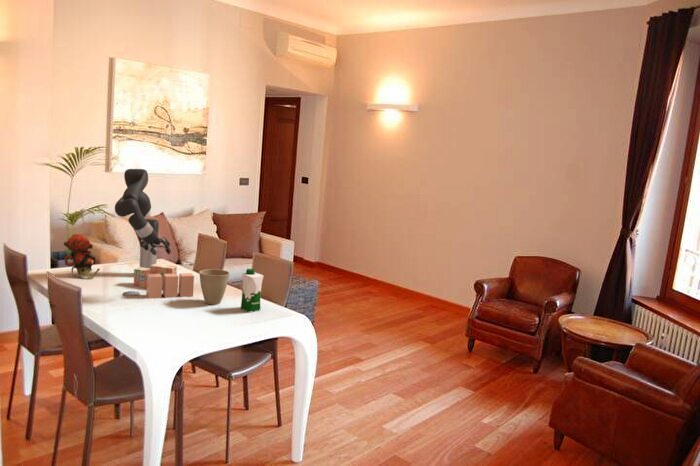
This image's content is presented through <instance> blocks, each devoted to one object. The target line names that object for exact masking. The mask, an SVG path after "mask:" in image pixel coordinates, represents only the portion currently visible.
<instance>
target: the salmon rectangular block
mask: <svg viewBox="0 0 700 466" xmlns="http://www.w3.org/2000/svg"><path fill="white" fill-rule="evenodd" d="M178 290H179V276H178V274H164V276H163V289H162V296H163V297H164V298H165V299H166V298H167V299H168V298H178V296H179V294H178Z"/></svg>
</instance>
